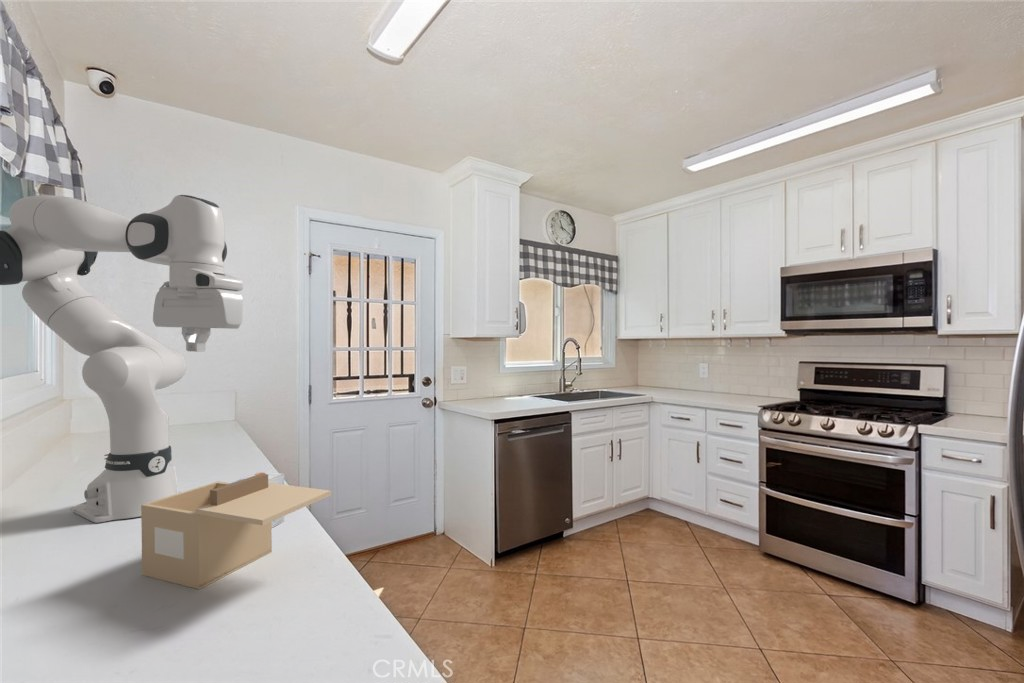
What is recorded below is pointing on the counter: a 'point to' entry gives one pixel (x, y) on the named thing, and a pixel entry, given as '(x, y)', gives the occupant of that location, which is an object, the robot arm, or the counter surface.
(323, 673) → the counter surface
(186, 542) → the carton
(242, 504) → the carton lid
